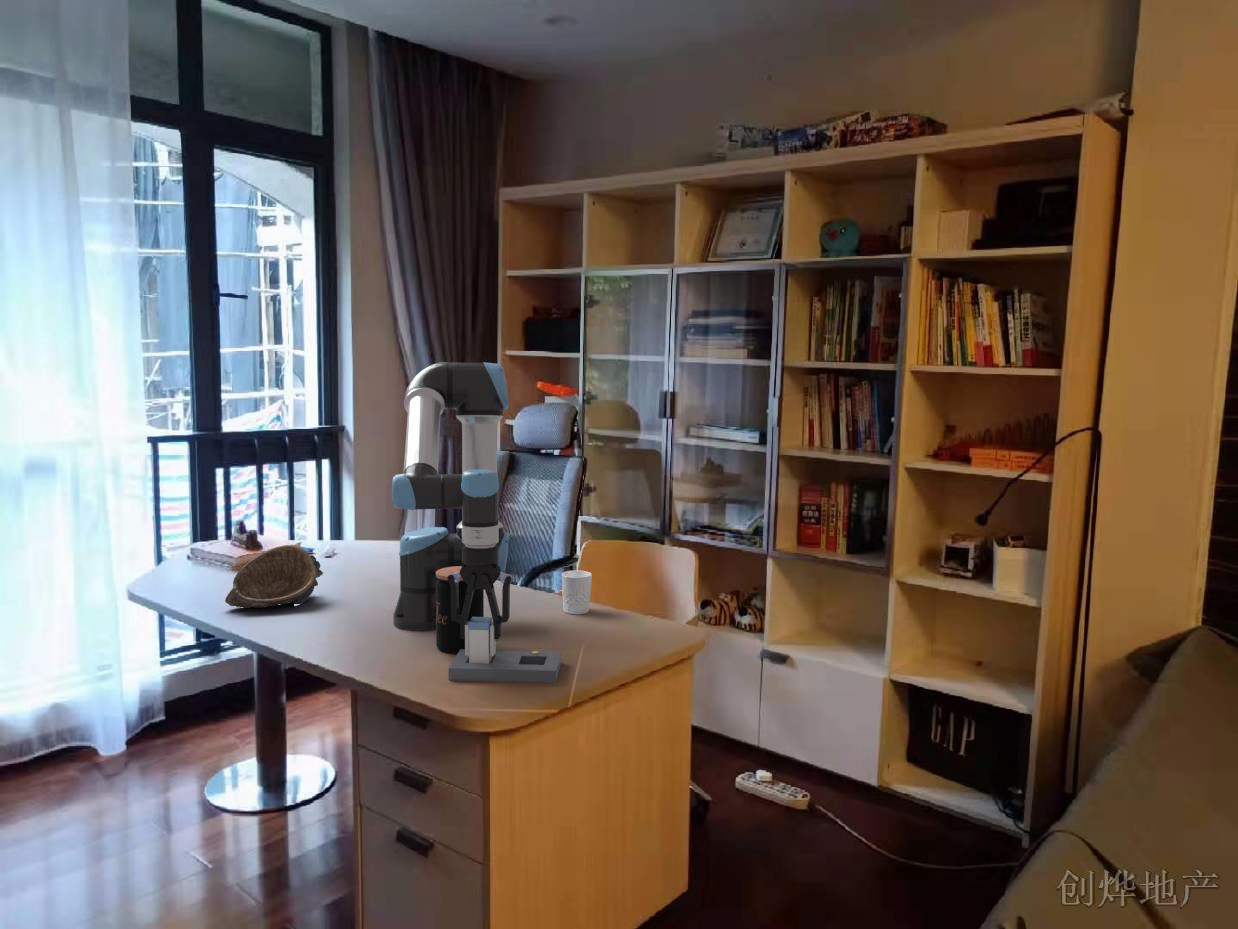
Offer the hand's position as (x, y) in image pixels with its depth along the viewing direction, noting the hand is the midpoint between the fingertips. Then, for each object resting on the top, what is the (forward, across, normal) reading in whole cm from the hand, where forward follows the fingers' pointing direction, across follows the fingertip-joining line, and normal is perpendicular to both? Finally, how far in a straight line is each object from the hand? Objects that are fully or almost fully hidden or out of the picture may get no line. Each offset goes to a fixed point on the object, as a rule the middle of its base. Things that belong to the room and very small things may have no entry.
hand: (480, 653), depth 192 cm
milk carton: (+4, 0, 0) cm, 4 cm away
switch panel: (+4, +6, 0) cm, 7 cm away
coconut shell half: (+4, -61, +47) cm, 77 cm away
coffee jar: (+4, -8, +16) cm, 18 cm away
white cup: (+4, +16, +48) cm, 51 cm away
